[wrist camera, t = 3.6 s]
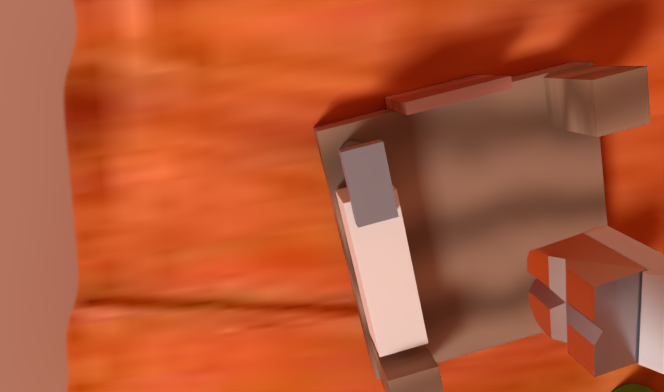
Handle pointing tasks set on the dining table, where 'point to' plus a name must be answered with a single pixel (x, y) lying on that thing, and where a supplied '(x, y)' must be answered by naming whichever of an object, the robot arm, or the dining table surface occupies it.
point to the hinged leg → (380, 249)
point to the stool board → (486, 195)
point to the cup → (633, 388)
